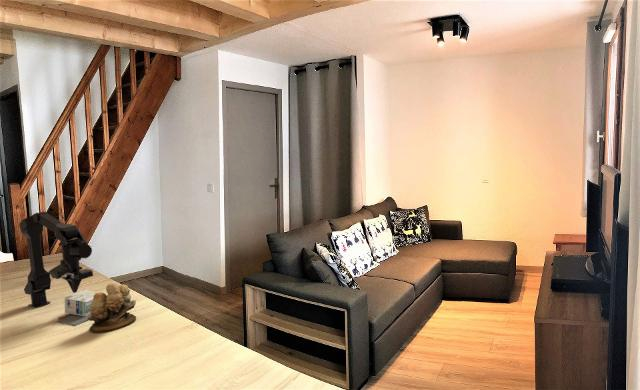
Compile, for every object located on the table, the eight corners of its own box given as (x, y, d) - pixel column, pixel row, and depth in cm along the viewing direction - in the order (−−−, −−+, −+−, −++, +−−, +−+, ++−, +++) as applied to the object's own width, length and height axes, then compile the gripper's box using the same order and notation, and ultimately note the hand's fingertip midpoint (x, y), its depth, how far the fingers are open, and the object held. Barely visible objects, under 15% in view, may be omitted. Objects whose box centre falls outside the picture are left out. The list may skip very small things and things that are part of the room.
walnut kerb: (58, 320, 181) (57, 317, 181) (93, 306, 195) (93, 304, 195) (59, 320, 181) (59, 318, 181) (95, 306, 195) (95, 304, 195)
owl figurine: (131, 314, 185) (127, 274, 182) (143, 321, 176) (140, 279, 174) (84, 328, 172) (80, 285, 170) (95, 337, 164) (91, 292, 162)
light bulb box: (64, 313, 185) (85, 317, 182) (63, 297, 184) (85, 301, 181) (83, 303, 195) (104, 307, 192) (83, 289, 194) (104, 292, 191)
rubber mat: (58, 321, 180) (57, 320, 180) (98, 306, 195) (98, 305, 195) (75, 325, 174) (75, 324, 174) (115, 309, 190) (114, 308, 190)
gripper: (37, 259, 182) (42, 296, 184) (65, 263, 174) (70, 301, 176) (63, 252, 192) (68, 287, 194) (91, 256, 183) (96, 292, 185)
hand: (74, 292), depth 187 cm, fingers closed
